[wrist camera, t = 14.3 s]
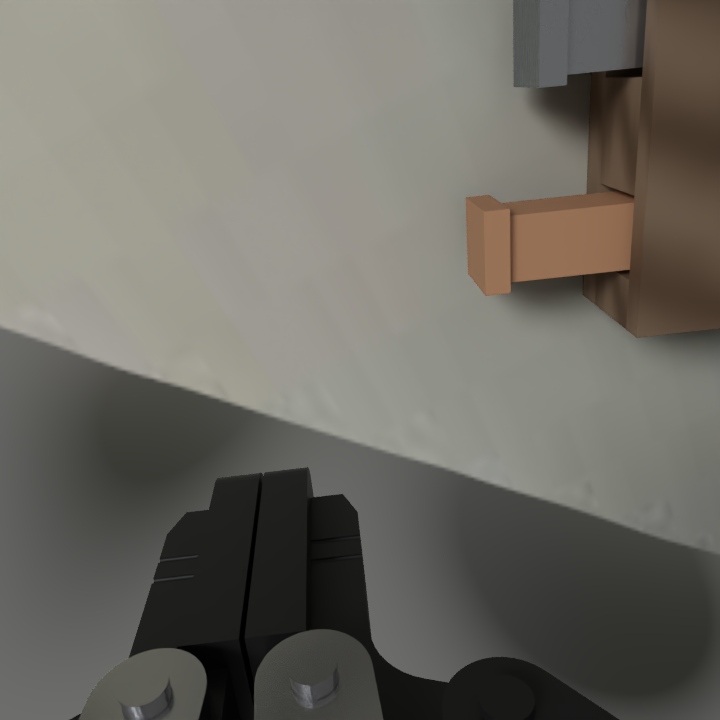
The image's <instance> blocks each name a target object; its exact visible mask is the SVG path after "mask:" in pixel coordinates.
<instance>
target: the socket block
mask: <svg viewBox="0 0 720 720" xmlns="http://www.w3.org/2000/svg"><path fill="white" fill-rule="evenodd" d="M613 191H623V192H625V193H628V194H631V195H634V196H635V197H634V212H633V228H632V244H631V259H630V270H622V271H613V272H603V273H594V274H585V275H584V280H583V295H584V296H585V297H587V298H588V299H589V300H590V301H592V302H593V303H594V304H595V305H597V306H598V307H599V308H600V309H602V310H603V311H604V312H605V313H607V314H608V315H609V316H610V317H612V318H613V319H614V320H615V321H617V322H618V323H619V324H620V325H622V326H623V327H624V328H625V329H626V330H628V331H629V332H630V333H631V334H633V335H634V336H635V337H636V338H638V337H647V336H657V335H666V334H675V333H684V332H693V331H702V330H711V329H720V0H647V10H646V25H645V41H644V56H643V67H639V68H629V69H619V70H609V71H599V72H591V91H590V118H589V145H588V172H587V194H594V193H604V192H613Z"/></svg>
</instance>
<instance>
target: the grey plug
mask: <svg viewBox="0 0 720 720" xmlns="http://www.w3.org/2000/svg"><path fill="white" fill-rule="evenodd" d="M646 10H647V0H513V58H514V87H526V88H544V87H554V86H564V85H567V75H570V74H580V73H590V72H599V71H609V70H619V69H629V68H639V67H643V56H644V41H645V25H646Z"/></svg>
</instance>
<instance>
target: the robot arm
mask: <svg viewBox="0 0 720 720" xmlns="http://www.w3.org/2000/svg"><path fill="white" fill-rule="evenodd" d="M70 720H619V719H617V718H616V717H614V716H613V715H611V714H610V713H608V712H607V711H605V710H604V709H602V708H601V707H599V706H598V705H596V704H595V703H593V702H592V701H590V700H589V699H587V698H586V697H584V696H583V695H581V694H579V693H578V692H577V691H575V690H573V689H572V688H570V687H569V686H568V685H566V684H564V683H563V682H561V681H560V680H558V679H557V678H555V677H554V676H552V675H551V674H549V673H548V672H546V671H545V670H543V669H541V668H540V667H538V666H536V665H534V664H531V663H529V662H526V661H523V660H519V659H515V658H508V657H492V658H486V659H481V660H478V661H475V662H473V663H471V664H469V665H467V666H465V667H464V668H462V669H461V670H460V671H458V672H457V673H456V674H455V675H454V677H453V678H452V679H451V680H450V682H449V683H447V682H441V681H435V680H429V679H424V678H420V677H415V676H412V675H409V674H407V673H404V672H402V671H400V670H398V669H396V668H395V667H393V666H392V665H391V664H389V663H388V662H387V661H386V660H385V659H384V658H383V657H382V656H381V655H380V654H379V653H378V651H377V650H376V648H375V647H374V644H373V642H372V639H371V629H370V620H369V611H368V601H367V591H366V582H365V574H364V565H363V557H362V547H361V539H360V530H359V521H358V513H357V511H356V510H355V509H354V507H353V506H352V505H351V504H350V502H349V501H348V500H347V499H346V498H345V497H344V495H343V494H339V495H331V496H322V497H313V489H312V483H311V476H310V471H309V468H308V467H307V468H300V469H290V470H282V471H273V472H265V473H264V476H263V474H262V473H258V474H249V475H240V476H231V477H222V478H217V480H216V482H215V486H214V490H213V495H212V499H211V503H210V507H209V510H204V511H195V512H187V513H186V514H185V515H184V516H183V517H182V518H181V520H179V522H178V523H177V524H176V525H175V526H174V527H173V529H172V530H171V531H170V532H169V533H168V534H167V537H166V540H165V543H164V546H163V550H162V553H161V556H160V563H158V566H157V569H156V572H155V575H154V583H153V584H152V585H151V588H150V591H149V595H148V598H147V601H146V604H145V608H144V611H143V614H142V617H141V620H140V624H139V627H138V630H137V633H136V637H135V640H134V643H133V646H132V650H131V653H130V656H129V658H128V659H126V660H124V661H123V662H121V663H120V664H118V665H117V666H115V667H114V668H113V669H111V670H110V671H109V672H108V673H107V674H106V675H105V676H104V677H103V678H102V679H101V680H100V681H99V682H98V683H97V685H96V686H95V688H94V689H93V690H92V692H91V694H90V696H89V698H88V700H87V702H86V704H85V706H84V709H83V711H82V713H81V714H79V715H77V716H76V717H74V718H72V719H70Z"/></svg>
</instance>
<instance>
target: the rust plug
mask: <svg viewBox="0 0 720 720" xmlns="http://www.w3.org/2000/svg"><path fill="white" fill-rule="evenodd" d="M634 197H635V196H634V195H631V194H628V193H625V192H623V191H613V192H604V193H594V194H585V195H575V196H566V197H556V198H547V199H537V200H528V201H518V202H509V203H500V202H499V201H497V200H496V199H494V198H493V197H491V196H490V195H485V196H476V197H466V223H467V255H468V274H469V275H470V277H471V278H472V279H473V280H474V282H475V283H476V284H477V286H478V287H479V288H480V289H481V291H482V292H483V293H484V294H485V296H489V295H498V294H507V293H511V282H520V281H529V280H538V279H548V278H557V277H566V276H576V275H585V274H594V273H603V272H613V271H622V270H630V259H631V244H632V228H633V212H634Z"/></svg>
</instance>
